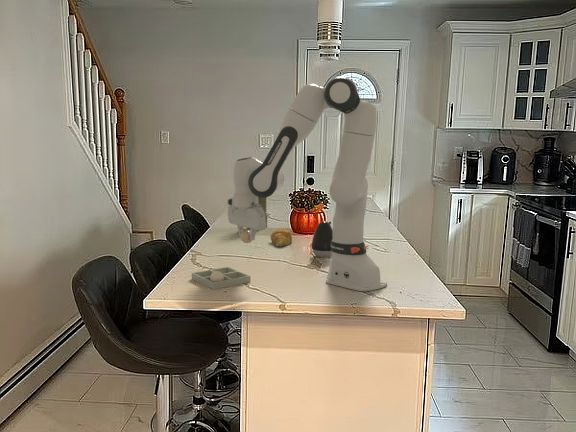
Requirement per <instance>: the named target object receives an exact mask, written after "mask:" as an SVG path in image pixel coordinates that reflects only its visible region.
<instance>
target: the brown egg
mask: <svg viewBox="0 0 576 432" xmlns="http://www.w3.org/2000/svg"><path fill="white" fill-rule="evenodd" d="M250 233H251V231H250V229H244V231H243V232H242V233H241V237H240V240H241V241H242V243H245V244H250V243H252V242H253V240H249V235H250Z"/></svg>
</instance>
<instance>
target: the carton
mask: <svg viewBox="0 0 576 432" xmlns="http://www.w3.org/2000/svg"><path fill="white" fill-rule="evenodd" d="M214 271H220V272H221V273H223V275H224V281H218V282H212V281H210V275H211V274H212V273H213V272H214ZM191 280H193V281H194V282H197V283H198V284H200V285H202V286H205V287H207V288H209V289H211V290H216V289H217V290H218V289H222V288H228V287H233V286H239V285H242V284H248V283H251V275H249V274H247V273H244V272H242V271H240V270H237V269H234V268H232V267H229V266H225V267H220V268H219V267H218V268H212V269H207V270H202V271H196V272H191Z"/></svg>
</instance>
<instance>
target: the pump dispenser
mask: <svg viewBox="0 0 576 432" xmlns="http://www.w3.org/2000/svg"><path fill="white" fill-rule="evenodd" d="M315 227H316V228H315V230H314V232H313V236H312V242H311V249H312V253H313V254H314V255H315V256H316V257H317V258H321V259H326V258H331V255H332V251H331V241H332V238H333V226H332V222H331V221H325V220H322V221H320V222H319V223H318V224H317V226H315Z"/></svg>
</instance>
